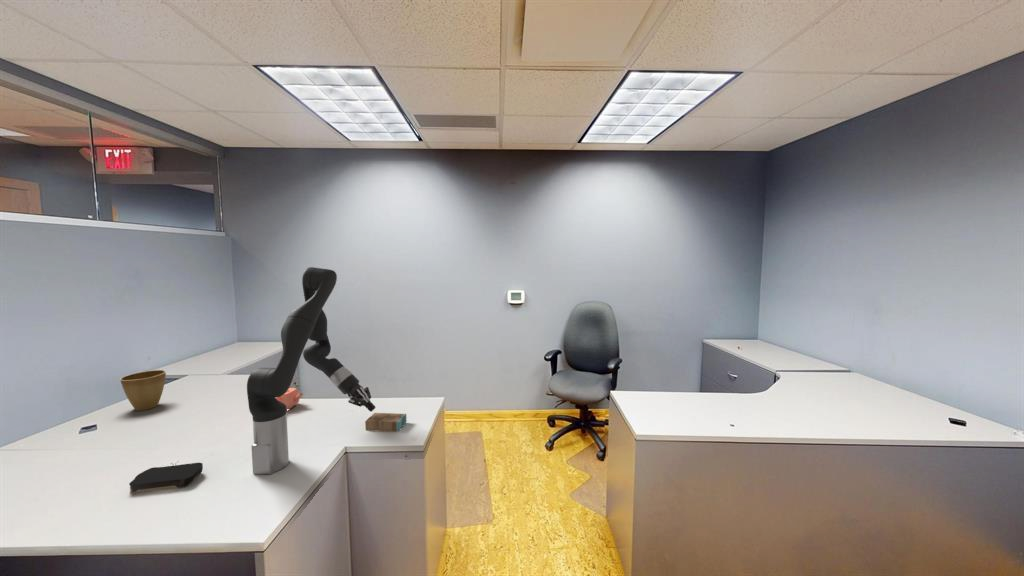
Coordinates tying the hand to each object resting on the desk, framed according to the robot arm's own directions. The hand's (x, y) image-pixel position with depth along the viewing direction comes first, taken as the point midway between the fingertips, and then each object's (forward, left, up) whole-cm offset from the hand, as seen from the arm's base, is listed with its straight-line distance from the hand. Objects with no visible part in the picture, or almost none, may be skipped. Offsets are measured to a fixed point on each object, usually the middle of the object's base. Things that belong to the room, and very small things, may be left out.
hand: (373, 409), depth 144 cm
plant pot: (+10, +118, -7) cm, 118 cm away
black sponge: (-42, +46, -8) cm, 62 cm away
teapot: (+14, +50, -7) cm, 52 cm away
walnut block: (0, +2, -5) cm, 5 cm away
